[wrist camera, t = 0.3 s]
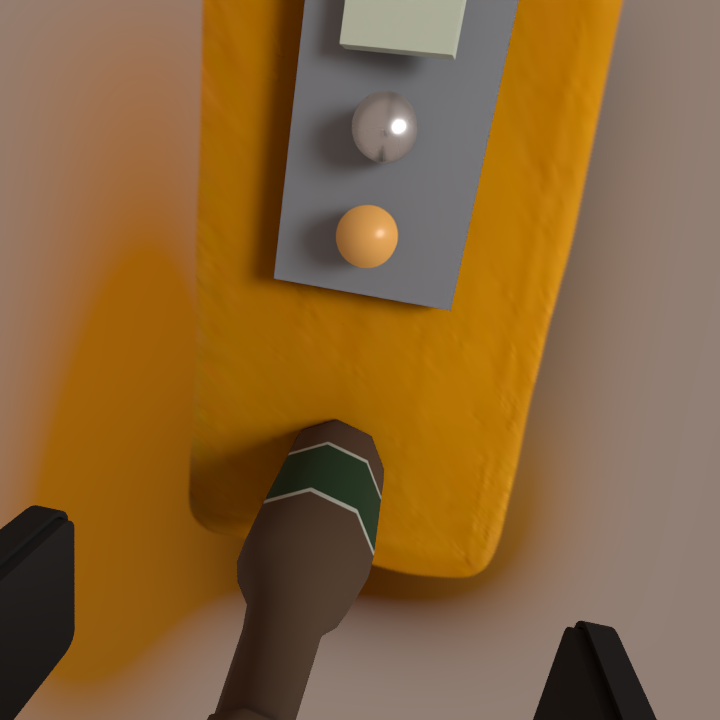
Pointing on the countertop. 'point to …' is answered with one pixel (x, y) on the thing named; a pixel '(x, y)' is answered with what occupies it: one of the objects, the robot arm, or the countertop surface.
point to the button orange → (367, 236)
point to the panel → (395, 180)
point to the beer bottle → (302, 567)
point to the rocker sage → (403, 27)
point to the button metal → (384, 127)
